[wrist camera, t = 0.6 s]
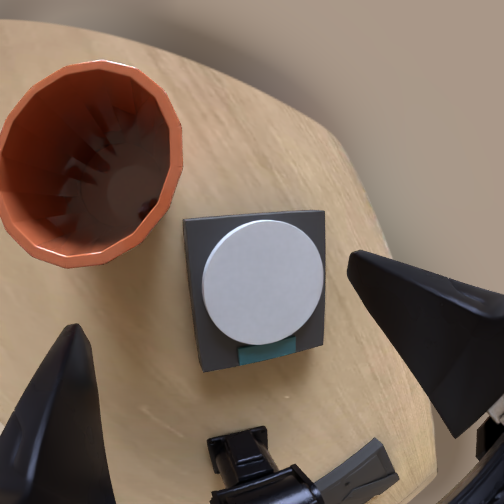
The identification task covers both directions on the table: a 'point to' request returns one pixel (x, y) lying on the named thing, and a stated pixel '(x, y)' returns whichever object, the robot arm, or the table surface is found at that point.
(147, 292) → the table surface
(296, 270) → the scale
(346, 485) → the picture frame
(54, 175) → the tumbler
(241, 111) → the table surface
